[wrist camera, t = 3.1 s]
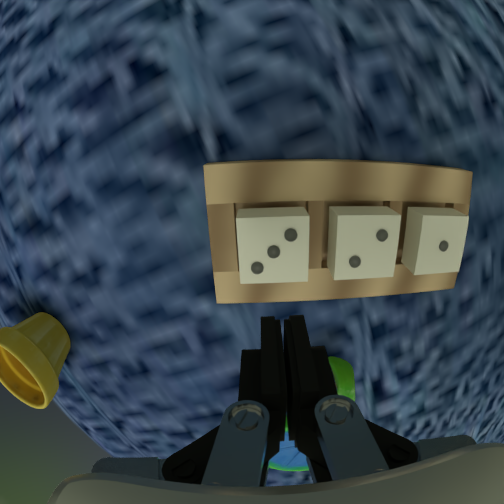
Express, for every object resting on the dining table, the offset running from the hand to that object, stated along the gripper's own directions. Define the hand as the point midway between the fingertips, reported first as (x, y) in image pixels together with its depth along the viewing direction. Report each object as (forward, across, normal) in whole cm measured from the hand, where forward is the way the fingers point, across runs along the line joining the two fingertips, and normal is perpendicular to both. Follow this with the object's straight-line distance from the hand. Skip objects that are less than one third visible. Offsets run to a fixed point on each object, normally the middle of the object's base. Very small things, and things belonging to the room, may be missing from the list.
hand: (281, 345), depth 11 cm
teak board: (+15, -7, 0) cm, 17 cm away
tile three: (+13, 0, 0) cm, 13 cm away
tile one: (+13, -14, 0) cm, 19 cm away
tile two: (+13, -7, 0) cm, 15 cm away
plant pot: (+16, +29, +13) cm, 35 cm away
